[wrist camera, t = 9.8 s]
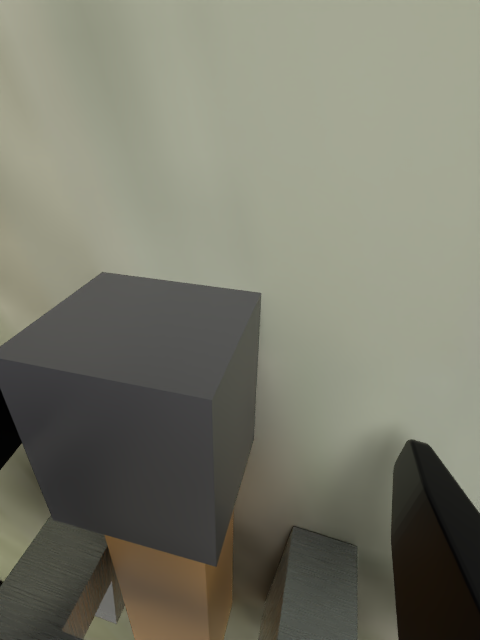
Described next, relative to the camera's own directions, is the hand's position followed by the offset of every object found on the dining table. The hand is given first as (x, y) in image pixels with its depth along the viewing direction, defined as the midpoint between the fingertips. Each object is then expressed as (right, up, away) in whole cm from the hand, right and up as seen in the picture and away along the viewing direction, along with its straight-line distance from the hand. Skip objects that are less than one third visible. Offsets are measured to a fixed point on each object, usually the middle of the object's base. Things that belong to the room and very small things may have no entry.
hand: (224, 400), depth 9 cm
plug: (-1, -4, +4) cm, 6 cm away
